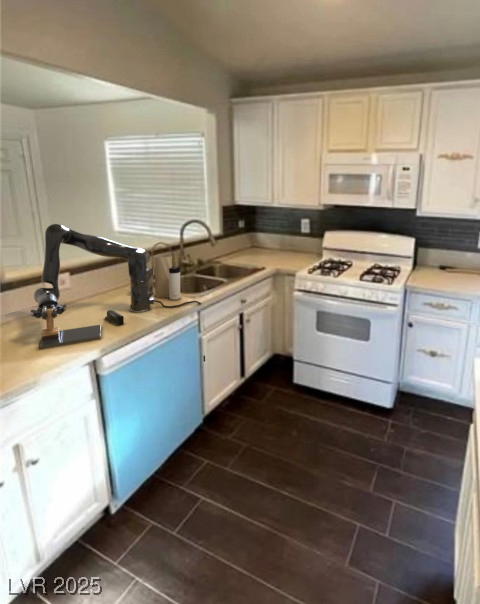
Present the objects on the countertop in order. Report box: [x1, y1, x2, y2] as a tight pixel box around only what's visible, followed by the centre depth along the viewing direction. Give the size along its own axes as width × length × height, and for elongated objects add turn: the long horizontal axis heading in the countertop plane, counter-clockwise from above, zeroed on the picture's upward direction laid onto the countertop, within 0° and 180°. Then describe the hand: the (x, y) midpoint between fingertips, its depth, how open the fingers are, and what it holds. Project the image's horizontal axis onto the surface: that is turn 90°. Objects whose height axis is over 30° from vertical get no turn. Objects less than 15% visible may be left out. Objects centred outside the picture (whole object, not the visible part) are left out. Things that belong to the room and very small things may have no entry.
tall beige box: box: [153, 253, 173, 299], centre depth 219 cm, size 10×10×25 cm
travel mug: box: [168, 266, 181, 301], centre depth 213 cm, size 6×7×20 cm
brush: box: [40, 308, 61, 342], centre depth 155 cm, size 6×4×13 cm
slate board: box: [39, 324, 102, 350], centre depth 160 cm, size 22×14×2 cm, turn 119°
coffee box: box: [147, 267, 154, 296], centre depth 219 cm, size 9×6×16 cm
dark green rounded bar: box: [104, 309, 125, 326], centre depth 179 cm, size 5×3×15 cm
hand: (49, 316), depth 153 cm, fingers closed on brush, 2 cm apart
